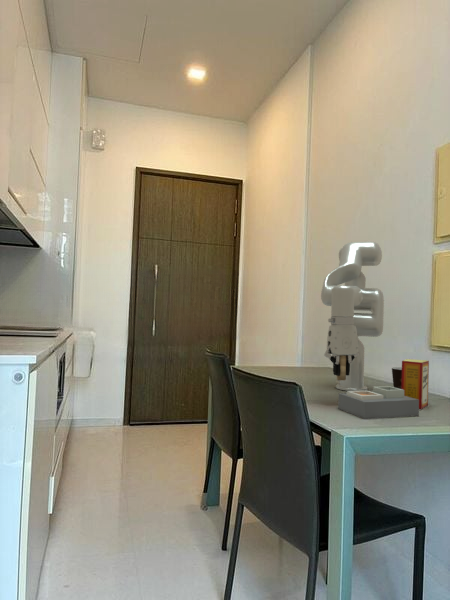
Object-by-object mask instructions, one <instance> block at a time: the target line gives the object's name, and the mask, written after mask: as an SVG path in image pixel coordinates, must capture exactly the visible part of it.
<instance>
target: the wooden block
mask: <svg viewBox="0 0 450 600" xmlns="http://www.w3.org/2000/svg"><path fill="white" fill-rule="evenodd" d="M339 364H340V376H336V380H346V355H340V357H339Z"/></svg>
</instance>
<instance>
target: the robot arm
mask: <svg viewBox="0 0 450 600" xmlns="http://www.w3.org/2000/svg"><path fill="white" fill-rule="evenodd" d="M382 258H383V251H382V249H381V247H380V245H379V243H377V242H376V241H354V242H353V241H351V242H347V243H345V244H344V245H343V246H342V247H341V248H340V249H339V251H338V260H339V263H338V266H337V267H336V268H334V269H333V270H332V271H330V272H329V273H328V274H327V275H326V276H325V277H324V279H323V283H322V288H321V294H320V299H321V303H322V304H323V305H324V306H326V307H331V309H330V310H331V311H330V313H331V315H330V318H328V320H327V321H328V323H330V325H329V327H328V331H327V338H326V349H325V350H326V351H325V353H324V354H323V356H324V357H326V358H327V359H329V361H331V363H332V372H333V375H334V376H336V377H337V376H340V364H339V357H340V355H346V380H337V379H336V380H337V381H338V383H337V384H336V385H335V388H336V389H337V390H341V391H346V392H347V391H368V386H367V385H364V381H365V375H364V374H365V345H364V344H363V342H362V341H361V339H360V338H359V337H367V338H368V337H369V338H370V337H371V338H372V337H373V338H374V337H375V338H376V337H378V338H379V337H380V336H381V335H382V334H383V332H384V313H385V312H384V309H385V308H384V307H385V305H384V304H385V303H384V301H385V300H384V293H383V291H382V290H381V289H379V288H374V287H372V288H369V287H368V288H367V287H366V278H367V277H366V276H365V274H364V273H363V271H362V267H371V266H373V267H374V266H375V267H377V266H379V265H380V264H381V262H382ZM342 284H344V285H342ZM355 311H356V312H355ZM357 311H358V312H357ZM359 311H361V312H359ZM365 312H366V313H365ZM367 312H370V313H367Z"/></svg>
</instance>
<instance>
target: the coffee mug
mask: <svg viewBox="0 0 450 600" xmlns="http://www.w3.org/2000/svg"><path fill="white" fill-rule="evenodd" d="M391 374H392V385H393V386H392V387H395V388H399V389H401V383H402V366H399V367H397V366H396V367H393V366H392V367H391Z"/></svg>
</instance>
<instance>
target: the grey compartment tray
mask: <svg viewBox="0 0 450 600" xmlns="http://www.w3.org/2000/svg"><path fill="white" fill-rule="evenodd" d="M360 394H369V395H360ZM337 405H338V406H337V407H338V410H341V411H343V412H347V413H349V414H351V415H354V416H356V417H358V418H361V419H363V420H370V419H384V418H388V419H389V418H402V417H418V416H420V409H419V400H418V399H414V398H411V397H407V396H404V390H403V389H399V388H395V387H394V386H390V385H389V386H388V385H385V386H372V390H371V391H370V390H366V391H346V392H341V393H338V404H337Z"/></svg>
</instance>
